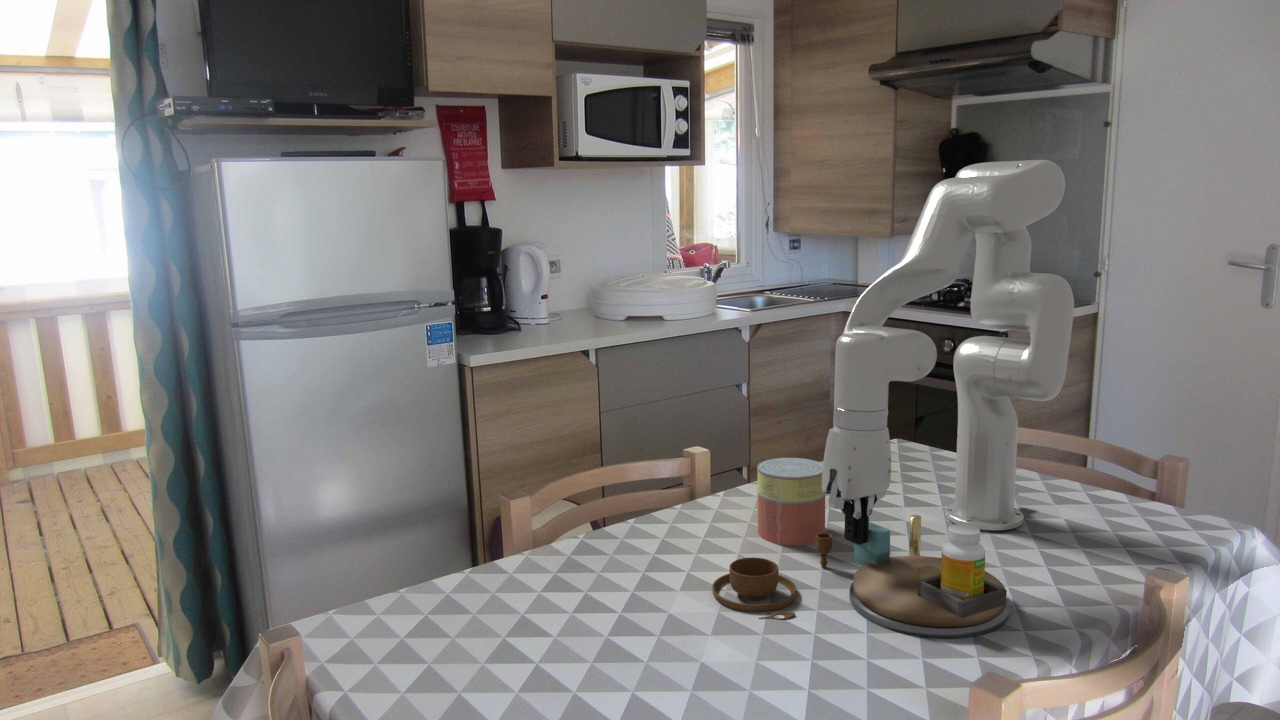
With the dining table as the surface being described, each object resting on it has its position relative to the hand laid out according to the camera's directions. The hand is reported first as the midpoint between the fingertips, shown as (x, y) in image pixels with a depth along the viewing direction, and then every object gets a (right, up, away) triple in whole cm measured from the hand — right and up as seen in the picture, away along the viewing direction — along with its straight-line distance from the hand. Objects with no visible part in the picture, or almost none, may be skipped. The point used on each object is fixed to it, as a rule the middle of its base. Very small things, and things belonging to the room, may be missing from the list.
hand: (856, 540), depth 134 cm
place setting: (-11, -8, -3) cm, 14 cm away
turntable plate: (+7, -5, -6) cm, 11 cm away
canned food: (-6, -3, +19) cm, 20 cm away
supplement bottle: (+11, -5, -13) cm, 18 cm away
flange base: (+8, -7, -8) cm, 13 cm away
